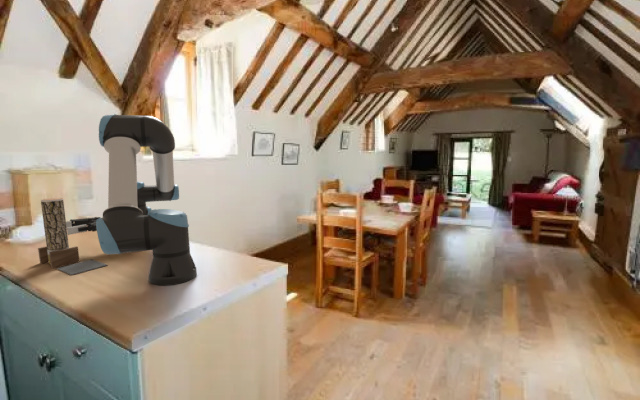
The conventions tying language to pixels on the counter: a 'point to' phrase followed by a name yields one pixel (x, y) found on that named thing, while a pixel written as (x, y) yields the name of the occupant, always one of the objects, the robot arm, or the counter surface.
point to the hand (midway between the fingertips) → (59, 229)
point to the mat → (81, 267)
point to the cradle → (59, 256)
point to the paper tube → (54, 224)
